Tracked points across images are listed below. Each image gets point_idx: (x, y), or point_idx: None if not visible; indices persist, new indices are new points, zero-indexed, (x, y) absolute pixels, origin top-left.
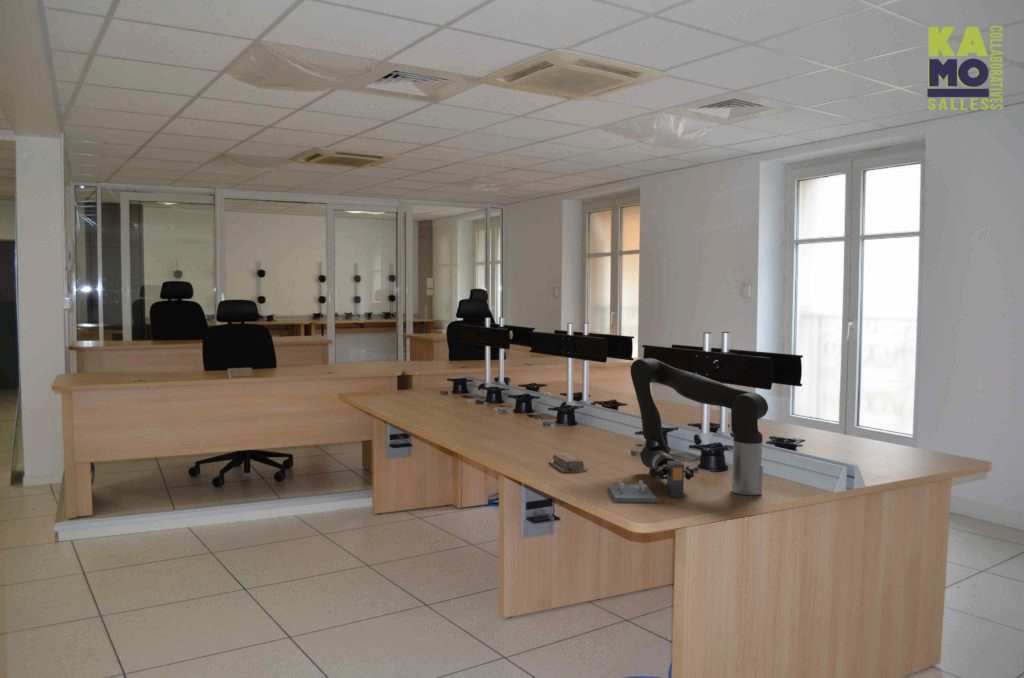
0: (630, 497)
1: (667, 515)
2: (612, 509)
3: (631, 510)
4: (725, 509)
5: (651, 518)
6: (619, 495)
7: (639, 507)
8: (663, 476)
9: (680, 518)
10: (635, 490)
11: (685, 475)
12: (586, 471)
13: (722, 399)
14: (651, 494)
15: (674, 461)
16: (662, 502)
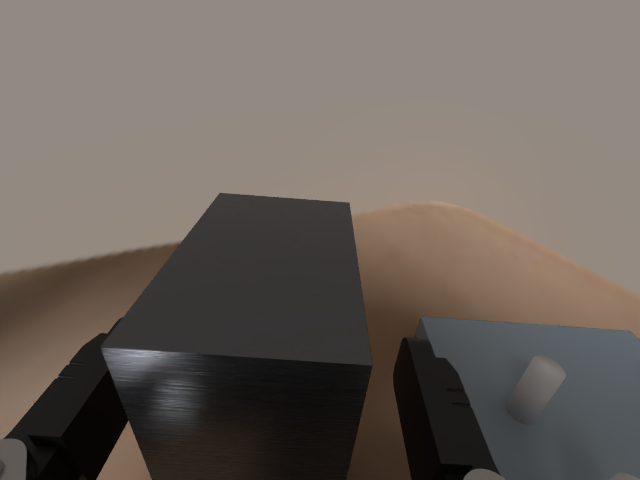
0: (556, 329)
1: (379, 230)
2: (568, 275)
3: (498, 265)
4: (151, 254)
5: (424, 219)
6: (638, 364)
7: (479, 286)
8: (401, 354)
9: None
10: None
11: (96, 446)
12: None
13: None
14: None
15: (247, 306)
16: (384, 338)
